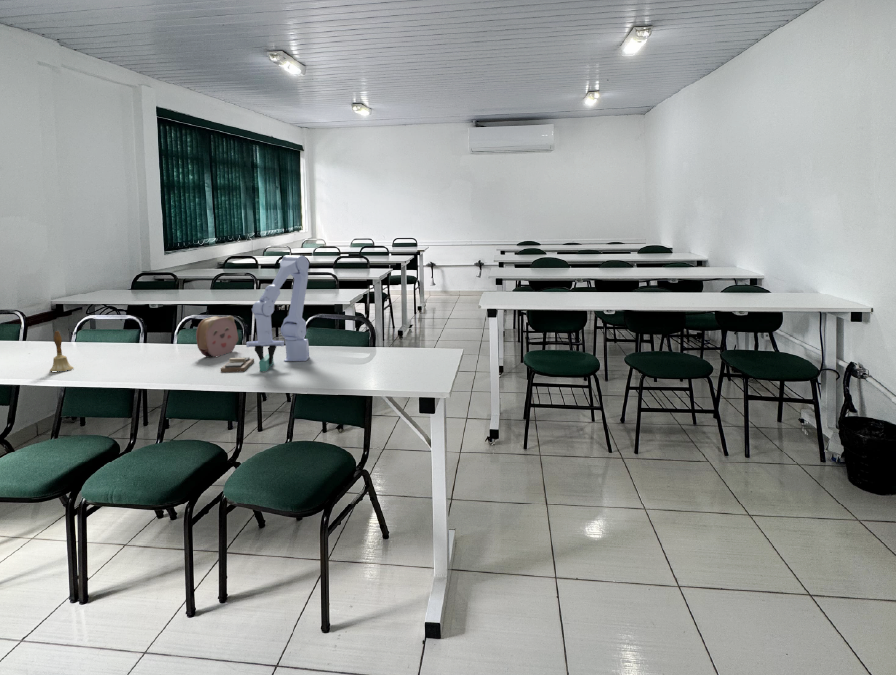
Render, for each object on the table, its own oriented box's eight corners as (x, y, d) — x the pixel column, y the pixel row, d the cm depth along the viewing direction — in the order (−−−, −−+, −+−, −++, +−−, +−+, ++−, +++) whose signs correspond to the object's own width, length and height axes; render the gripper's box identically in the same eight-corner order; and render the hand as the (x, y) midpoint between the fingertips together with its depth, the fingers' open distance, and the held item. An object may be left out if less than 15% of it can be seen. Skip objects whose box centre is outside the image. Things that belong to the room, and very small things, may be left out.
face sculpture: (209, 359, 255) (206, 321, 252) (196, 358, 257) (193, 320, 254) (240, 350, 273) (237, 314, 270) (227, 349, 276) (224, 313, 272)
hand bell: (51, 368, 241) (46, 330, 238) (75, 366, 244) (70, 328, 241) (47, 373, 234) (41, 333, 231) (71, 371, 237) (66, 332, 234)
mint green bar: (267, 363, 248) (267, 354, 247) (273, 363, 248) (273, 353, 247) (259, 371, 234) (259, 361, 233) (266, 371, 234) (265, 361, 233)
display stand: (232, 362, 249) (231, 354, 249) (254, 361, 250) (253, 353, 249) (220, 372, 234) (220, 363, 233) (244, 371, 234) (243, 362, 234)
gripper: (243, 333, 233) (245, 366, 236) (280, 332, 234) (282, 365, 237) (247, 329, 240) (250, 362, 243) (284, 329, 241) (286, 361, 244)
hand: (266, 363), depth 241 cm, fingers open, 3 cm apart
